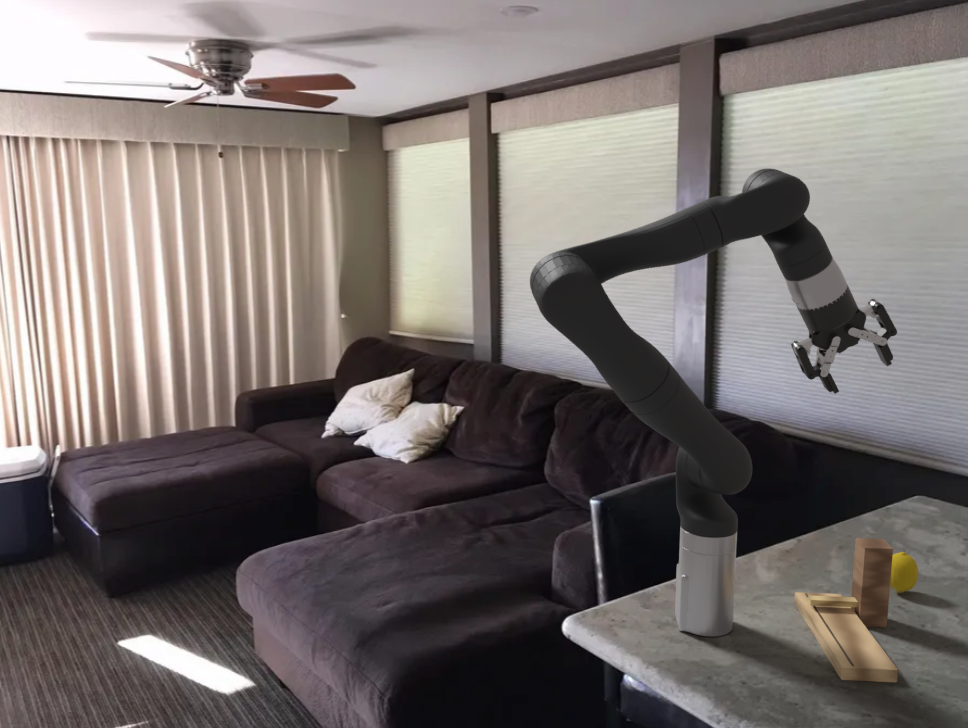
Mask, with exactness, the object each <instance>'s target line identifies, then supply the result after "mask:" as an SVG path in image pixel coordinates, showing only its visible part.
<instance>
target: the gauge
mask: <svg viewBox="0 0 968 728" xmlns="http://www.w3.org/2000/svg"><path fill="white" fill-rule="evenodd" d="M854 541H855V544H854V556H853V557H854V559H853V568H852V569H853V570H852V571H853V572H852V581H851V582H852V584H851V596H843V597H836V596H810V595H808V602H809V604H810V605H812V606H836V607H851V608H852V609H853V611H854V612H855V613H856V615H857V616H858V617H859V619H860V620H861V621H862V623H863V624H864V625H865V627H866V628H867V627H869V628H885V629H886V628H887V627H888V616H889V603H890V593H891V592H890V590H891V586H890V581H891V568H892V556H893V552H894V548H893V547H892V546H891V545H890V544H889V543H887V541H886V540H885V539H884V538H866V537H865V538H863V537H856V538H855V540H854Z"/></svg>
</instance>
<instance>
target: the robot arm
mask: <svg viewBox="0 0 968 728" xmlns="http://www.w3.org/2000/svg"><path fill="white" fill-rule="evenodd" d="M810 201H811V194H810V190H809V187H808V186H807V184H806V183H805V182H804V181H802V180H801V179H800V178H799V177H797V176H795V175H793V174H790V173H787V172H784V171H782V170H779V169H775V168H761V169H758V170H756V171H754V172H753V173H751V174H750V175H749V176H748V177H747V179H746V180H745V181H744V183H743V185H742V190H741V193H737V194H733V195H730V196H729V195H727V196H725V195H716V196H713V197H710V198H707V199H704V200H702V201H700V202H698V203H695V204H693V205H691V206H688V207H686V208H683V209H682V210H680V211H679V210H678V211H677V212H675V213H672V214H669V215H667V216H666V217H664V218H663V217H662V218H661V219H658V220H655V221H652V222H651V223H648V224H645V225H643V226H640V227H637V228H633V229H631V230H627V231H623V232H621V233H618V234H615V235H610V236H607V237H604V238H601V239H597V240H593V241H592V242H591V241H590V242H587V243H583V244H578V245H575V246H570V247H567V248H563V249H559V250H556V251H554V252H551V253H549V254H547V255H545V256H543V257H542V258H540V260H539V261H537V262H536V264H535V265H534V267H533V269H531V273H530V278H529V288H530V291H531V294H532V297H533V298H534V301H535V303H536V305H537V307H538V310H539V312H540V314H541V315H542V317H543V318H544V320H546V322H548V323H549V324H550V325H551V326H552V327H553V328H554V329H556V330H557V331H558V332H559V333H560V334H561V335H563V336H564V337H565V338H566V339H568V341H570V342H571V343H572V344H573V345H574V346H575V347H577V349H579V351H581V352H582V353H583V354H584V355H585V356H586V357H587V359H589V360H590V362H592V364H593V365H594V367H595V368H596V370H597V371H598V372H599V374H600V376H601V378H603V380H604V381H605V383H606V384H607V385H608V386H609V387H610V388H611V390H612V391H613V392H614V393H615V395H616V396H617V397H618V398H619V400H620V401H621V402H622V403H623V404H624V405H625V406H626V408H627V409H628V410H629V411H630V412H632V413H633V415H635V416H636V418H638V419H639V420H640V421H641V422H642V423H644V424H645V425H647V426H649V427H650V429H652V430H654V431H655V432H657V433H658V434H660V435H661V436H663V437H665V438H666V439H667V440H668V441H671V442H673V444H675V445H677V446H678V447H679V448H678V451H677V455H676V460H675V498H676V499H675V501H676V502H675V503H676V509H677V511H678V515H679V518H680V522H679V523H680V527H679V528H680V529H679V530H680V531H679V552H678V557H679V558H678V563H677V564H676V571H675V572H676V573H675V575H676V577H675V600H674V603H675V604H674V617H675V619H676V620H675V621H676V624H677V627H678V630H679V631H680V632H687V633H690V634H694V635H697V636H701V637H720V636H725V635H727V634H729V633H730V632H732V630H733V627H734V622H733V621H734V605H735V584H736V583H735V582H736V565H737V564H736V563H737V561H736V559H737V542H738V525H739V524H738V523H739V520H738V515H737V513H736V512H735V510H734V509H733V508H732V507H731V506H730V505H729V504H728V503H727V502H726V500H725V499H724V497H723V496H724V495H725V496H727V495H730V496H731V495H735V494H737V493H740V492H742V491H743V490H744V489H746V488H747V486H748V485H749V484H750V481H751V479H752V475H753V462H752V458H751V454H750V452H749V450H748V448H747V447H746V446H745V445H744V444H743V443H742V442H741V440H739V439H738V438H737V437H736V436H735V435H734V434H733V433H732V432H730V431H729V430H728V429H727V428H726V427H725V426H724V425H723V424H722V423H721V422H720V421H719V420H718V419H717V418H715V416H714V415H713V414H712V413H711V412H710V410H709V409H708V408H707V407H706V406H705V404H704V403H703V402H702V400H700V398H699V397H698V396H697V395H696V393H695V392H693V389H691V387H690V386H689V385H688V384H687V383H686V382H685V380H684V379H683V377H682V376H681V375H680V374H679V372H678V371H677V370H676V369H675V367H674V366H673V365H672V363H671V362H670V360H668V359H667V358H666V357H665V355H664V354H663V353H661V352H660V351H659V350H658V349H657V348H656V347H655V346H654V345H653V344H652V343H651V342H650V341H648V340H646V339H645V338H644V337H642V336H641V335H639V334H638V333H637V332H635V331H634V330H633V329H632V328H631V327H630V326H629V325H628V324H627V323H626V321H625V320H624V318H623V317H622V315H621V314H620V312H619V311H618V310H617V308H616V307H615V305H614V304H613V302H612V301H611V299H610V298H609V296H608V294H607V292H606V290H605V289H604V287H603V284H604V283H606V282H608V281H610V280H612V279H615V278H616V277H619V276H622V275H625V274H629V273H632V272H636V271H641V270H646V269H654V268H661V267H669V266H674V265H678V264H679V265H680V264H682V263H686V262H690V261H692V260H696V259H698V258H700V257H703V256H705V255H707V254H710V253H712V252H715V251H717V250H719V249H722V248H724V247H725V246H728V245H730V244H733V243H735V242H738V241H743V240H747V239H752V238H756V237H759V236H761V237H762V238H763V240H764V242H765V243H766V244H767V246H768V247H769V248H770V250H771V252H772V254H773V257H774V259H775V261H776V264H777V266H778V269H779V270H780V272H781V274H782V276H783V277H784V280H785V283H786V286H787V289H788V292H789V294H790V296H791V300H792V302H793V303H794V304H795V306H796V308H797V311H798V312H799V314H800V316H801V318H802V320H803V322H804V324H805V327H806V329H807V330H808V338H806V339H803V340H802V341H798V340H794V341H792V342H791V345H790V346H791V349H792V350H793V351H792V352H793V353H794V356H795V358H796V361H797V363H798V365H799V367H800V370H801V372H802V373H803V374H804V376H806V377H807V379H808V380H812V381H813V380H814V379H815V378H819V380H820V382H821V383H822V386H823V387H824V389H825V390H827V391H828V392H829V393H833V394H835V395H836V394H838V393H839V392H840V390H839V388H838V386H837V384H836V382H835V380H834V377H833V376H832V374H831V373H830V369H831V365H832V364H833V363H834V361H835V357H836V354H842V353H844V352H845V351H846V350H847V349H849V348H852V347H854V346H856V345H858V344H859V341H861V340H863V341H867V342H869V343H872V344H873V347H874V348H875V349H874V350H876V353H877V356H878V358H879V359H880V361H881V363H882V364H883V365H885V366H886V367H890V366H891V365H893V362H892V361H893V360H894V355H893V353H892V351H891V348H890V346H889V344H888V341H889V340H890V339H891V337H895V336H896V335H897V334H898V329H897V328H896V326H895V324H894V323H893V321H892V318H891V317H890V315H889V313H888V311H887V309H886V308H885V306H884V304H882V303H881V302H879V301H878V300H876V299H875V298H871V299H869V300H868V302H867V305H865V306H864V307H863V308H861V309H860V308H859V306H858V303H857V302H856V300H855V297H854V296H853V294H852V291H851V289H850V287H849V285H848V283H847V280H846V278H845V276H844V274H843V272H842V270H841V268H840V267H839V265H838V263H837V262H836V260H835V259H834V257H833V256H832V253H831V251H830V249H829V247H828V244H827V242H826V240H825V237H824V236H823V235H822V233H821V231H820V230H819V228H818V227H817V226H815V224H813V223H812V222H811V221H810V220H809V219H808V218H807V217H806V215H805V213H806V212H807V210H808V208H809V205H810ZM868 316H869V317H870V318H872V319H876V322H877V323H878V325H879V327H880V328H881V329H879V330H878V331H876V330H872V329H870V328H868V327H866V326H865V324H866V322H867V317H868ZM813 346H814V347H817V350H816V354H815V355H816V360H815V363H814V365H812V362H811V360H810V358H809V355H810V354H811V347H813Z"/></svg>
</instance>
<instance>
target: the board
mask: <svg viewBox="0 0 968 728" xmlns="http://www.w3.org/2000/svg"><path fill="white" fill-rule="evenodd" d="M808 595H810V596H836V597H844V596H843V594H841V593H828V592H827V593H826V592H825V593H821V592H798V591H797V592H794V604H795V606H796V608H797V610H798V611H799V612H800V615H801V616H802V618H803V619H804V621H805V623H806V624H807V626H808V627H809V629H810V631H811V632H812V634H813V636H814V637H815V639H816V641H817V642H818V644H819V646H820V647H821V649H822V651H823V652H824V654H825V657H827V659H828V661H829V662H830V664H831V665H832V667H833V668H834V670H835V673H836V674H837V675H838V677H839V678H840V680H841V681H855V682H856V681H857V682H858V681H859V682H876V683H877V682H880V683H898V675H899V669H898V668H897V666H896V665H895V664H894V662H893V661H892V660H891V659H890V657H889V656H888V655H887V654H886V652H885V651H884V649H883V648H882V646H881V645H880V644H879V643H878V642H877V640H876V638H875V637H874V636H873V635H872V633H871V632H870V631H869V630H868V628H867V627H865V625H864V624H863V623H862V621H861V620H860V619H859V617H858V616H857V615H856V613H855V612H854V611H853V609H852V608H851V607H836V606H812V605H810V604H809V602H808Z"/></svg>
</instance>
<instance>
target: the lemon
mask: <svg viewBox="0 0 968 728" xmlns="http://www.w3.org/2000/svg"><path fill="white" fill-rule="evenodd" d="M918 580H919V568H918V564H917V561H916V560H915V559H914V558H913V556H911V555H909V554H908V553H906V552H905V551H901V552H896V553H894V554H893V556H892V568H891V581H890V588H892V589H893V590H895V591H896V592H897V593H898V594H902V593H904V592H907V591H910V590H912V589H914V587H915V586H916V584H917V582H918Z"/></svg>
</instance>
